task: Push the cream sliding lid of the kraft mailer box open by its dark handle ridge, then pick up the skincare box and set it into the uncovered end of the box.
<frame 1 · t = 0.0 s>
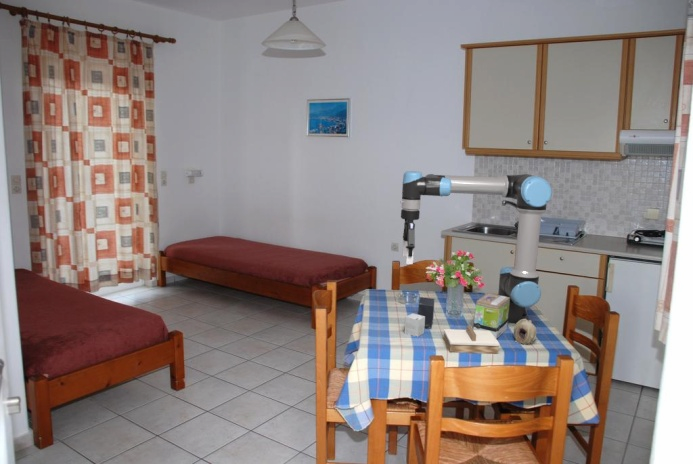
hand: (407, 259, 231), 28 cm above the table, fingers open, 13 cm apart
skincare box: (414, 334, 226), on the table
tea box: (490, 333, 230), on the table
small box: (425, 325, 237), on the table
twine ball: (524, 343, 221), on the table
lid: (471, 334, 213), point 5 cm above the table, slide at 0.0 cm
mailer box: (470, 346, 214), on the table
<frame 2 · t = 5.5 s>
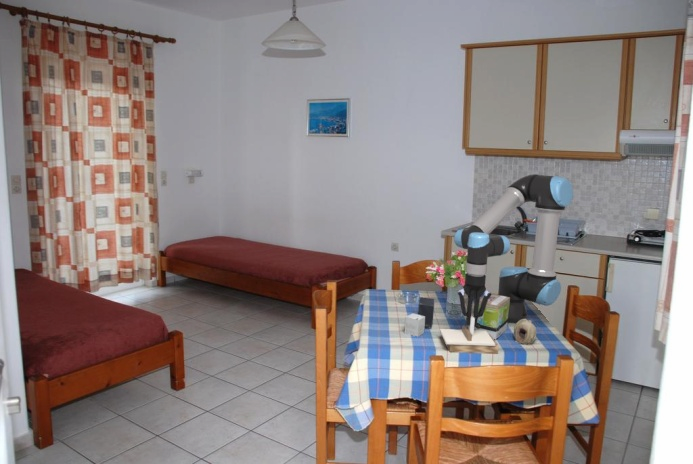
hand: (470, 333, 213), 5 cm above the table, fingers closed
lid: (466, 334, 213), point 5 cm above the table, slide at 1.6 cm, touching gripper
everything else where it was.
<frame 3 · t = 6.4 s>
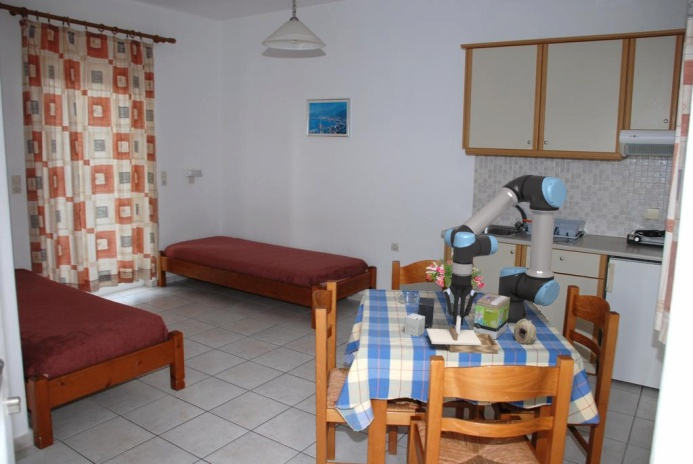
hand: (457, 332, 213), 5 cm above the table, fingers closed
lid: (453, 333, 213), point 5 cm above the table, slide at 6.9 cm, touching gripper
everything else where it was.
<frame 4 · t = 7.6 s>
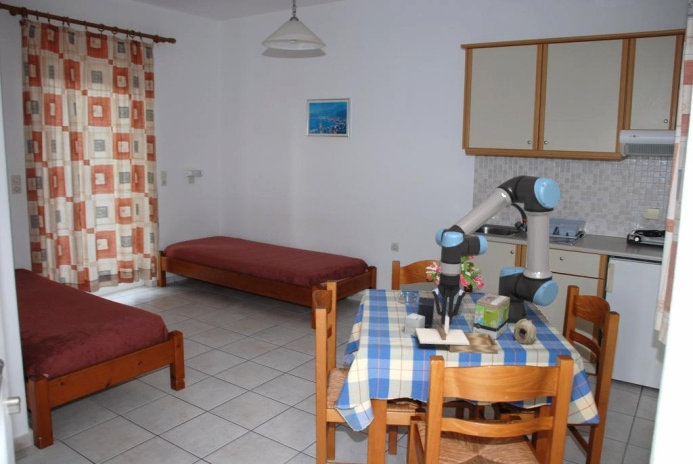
hand: (445, 332, 213), 5 cm above the table, fingers closed
lid: (441, 333, 213), point 5 cm above the table, slide at 11.3 cm, touching gripper
everything else where it was.
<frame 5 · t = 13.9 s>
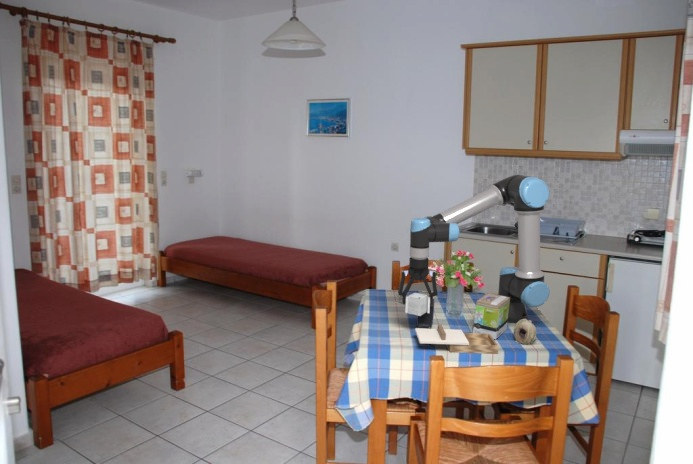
hand: (417, 312, 224), 9 cm above the table, fingers closed on skincare box, 8 cm apart
skincare box: (416, 313, 224), point 8 cm above the table, touching gripper
lid: (441, 333, 213), point 5 cm above the table, slide at 11.4 cm
everything else where it was.
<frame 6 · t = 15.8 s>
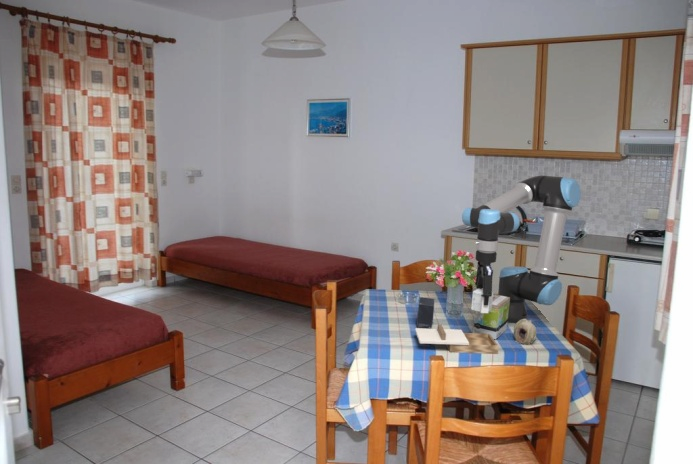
hand: (481, 308, 212), 15 cm above the table, fingers closed on skincare box, 8 cm apart
skincare box: (481, 310, 212), point 15 cm above the table, touching gripper
everything else where it was.
when the fingers open (5 cm above the table, at t = 17.9 s): skincare box drops 4 cm, resting on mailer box.
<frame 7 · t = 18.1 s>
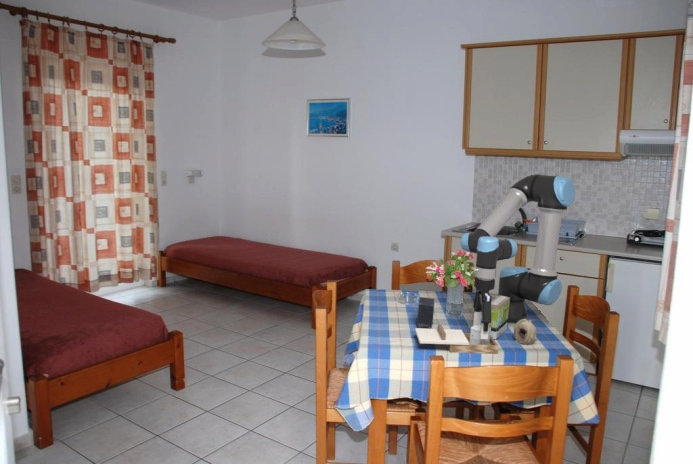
hand: (480, 333, 213), 5 cm above the table, fingers open, 11 cm apart
skincare box: (479, 345, 214), resting on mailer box
everything else where it was.
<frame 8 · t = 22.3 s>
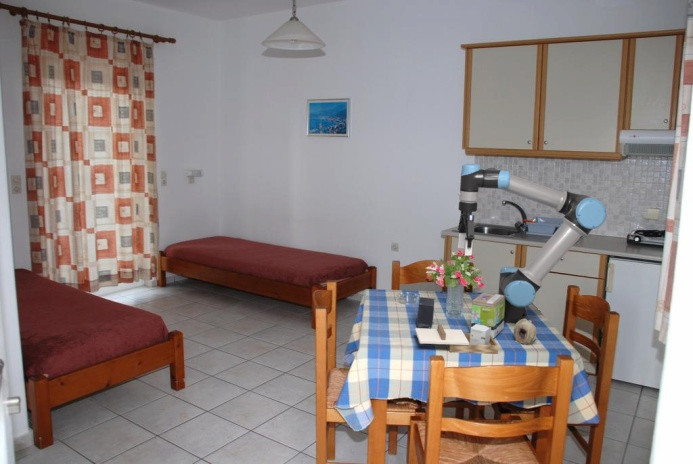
hand: (464, 251, 234), 32 cm above the table, fingers open, 13 cm apart
tea box: (487, 332, 230), on the table, touching arm
everything else where it was.
at the end: lid slide at 11.4 cm; skincare box inside the target area on the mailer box (0.4 cm from its centre), point 0.4 cm above the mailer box's base; the gripper is holding nothing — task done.
